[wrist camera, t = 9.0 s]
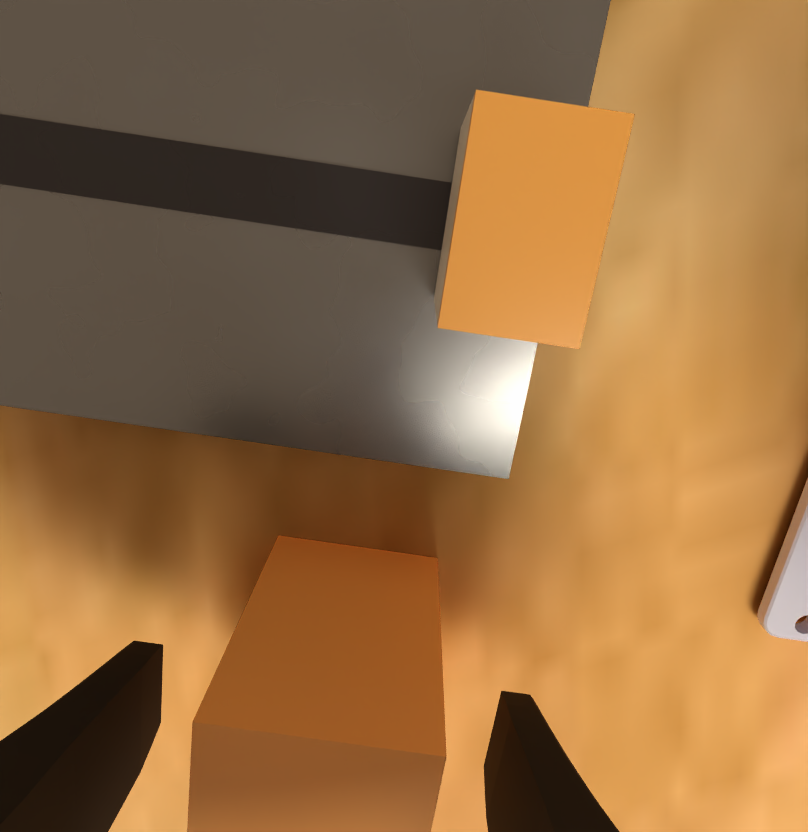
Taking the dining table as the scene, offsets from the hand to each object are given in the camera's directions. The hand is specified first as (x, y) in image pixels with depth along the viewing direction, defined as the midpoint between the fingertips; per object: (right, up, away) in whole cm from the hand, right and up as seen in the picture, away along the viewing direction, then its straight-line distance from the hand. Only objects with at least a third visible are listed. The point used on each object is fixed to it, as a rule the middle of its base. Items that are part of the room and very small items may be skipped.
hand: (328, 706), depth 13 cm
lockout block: (0, +1, +3) cm, 3 cm away
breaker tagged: (+3, +10, -2) cm, 10 cm away
